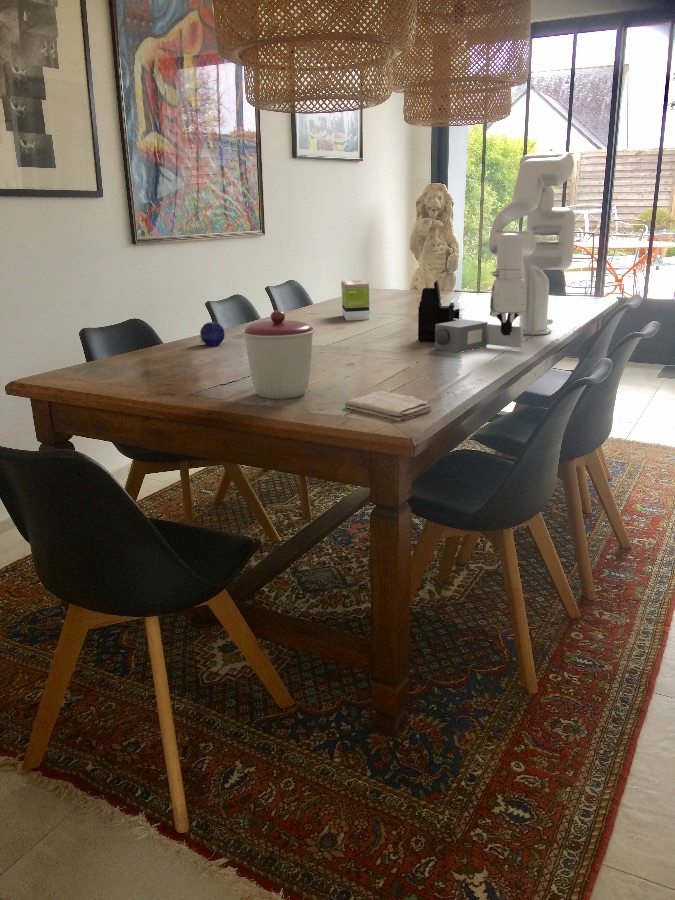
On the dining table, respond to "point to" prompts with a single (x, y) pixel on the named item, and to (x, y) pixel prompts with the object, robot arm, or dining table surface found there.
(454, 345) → the grey device box
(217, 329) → the ball
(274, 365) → the canister
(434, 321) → the camera
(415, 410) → the washcloth
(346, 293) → the tea box
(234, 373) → the dining table surface
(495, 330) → the side door
